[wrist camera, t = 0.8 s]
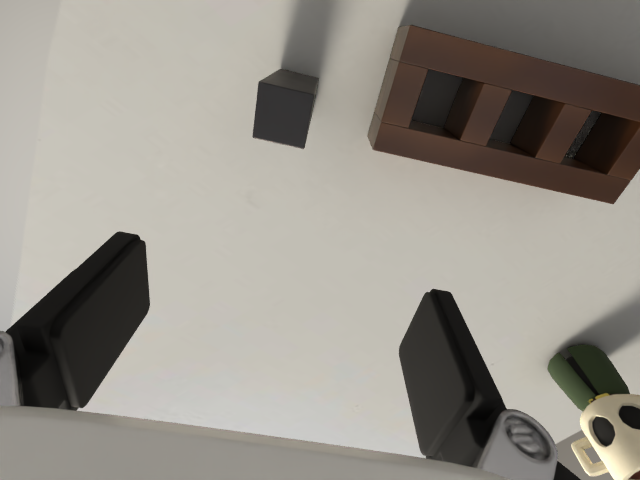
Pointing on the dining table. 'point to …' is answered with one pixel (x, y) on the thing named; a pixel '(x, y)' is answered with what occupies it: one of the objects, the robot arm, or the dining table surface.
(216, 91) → the dining table surface
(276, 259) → the dining table surface
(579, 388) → the character mug
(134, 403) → the dining table surface
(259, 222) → the dining table surface
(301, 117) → the peg
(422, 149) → the holder
